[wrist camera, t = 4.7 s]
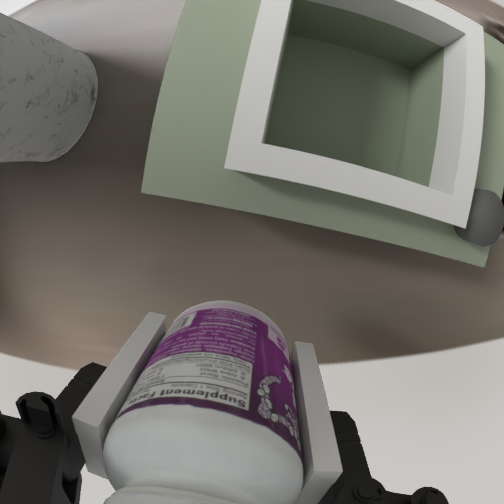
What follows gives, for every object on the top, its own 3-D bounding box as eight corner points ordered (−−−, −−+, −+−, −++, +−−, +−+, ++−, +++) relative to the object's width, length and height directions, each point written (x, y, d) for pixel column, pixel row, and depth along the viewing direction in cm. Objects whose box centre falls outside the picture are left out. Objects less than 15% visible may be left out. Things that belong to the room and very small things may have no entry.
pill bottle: (292, 394, 13) (308, 592, 4) (181, 399, 14) (123, 576, 4) (284, 287, 12) (317, 539, 3) (153, 298, 12) (14, 487, 3)
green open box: (189, 184, 20) (118, 196, 10) (225, 19, 17) (195, -71, 7) (418, 234, 20) (508, 280, 10) (443, 78, 17) (531, 40, 7)
